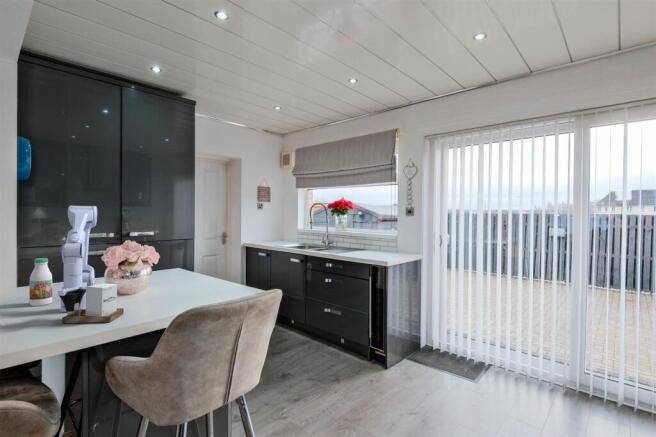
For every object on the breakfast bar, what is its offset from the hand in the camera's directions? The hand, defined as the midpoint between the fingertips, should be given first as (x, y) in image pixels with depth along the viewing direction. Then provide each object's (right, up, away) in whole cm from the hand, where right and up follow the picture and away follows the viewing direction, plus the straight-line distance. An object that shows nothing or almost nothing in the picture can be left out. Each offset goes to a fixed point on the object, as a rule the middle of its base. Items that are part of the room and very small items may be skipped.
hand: (72, 310), depth 129 cm
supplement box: (+10, -4, +1) cm, 11 cm away
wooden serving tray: (+8, -4, +1) cm, 8 cm away
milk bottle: (-29, -3, +20) cm, 35 cm away
